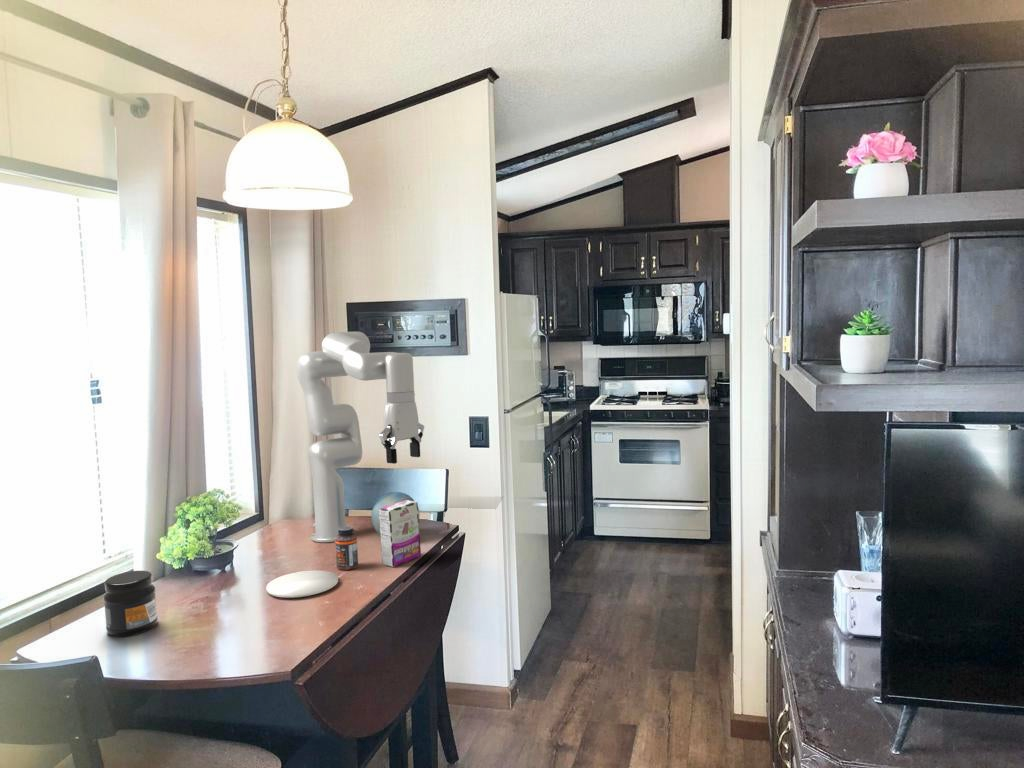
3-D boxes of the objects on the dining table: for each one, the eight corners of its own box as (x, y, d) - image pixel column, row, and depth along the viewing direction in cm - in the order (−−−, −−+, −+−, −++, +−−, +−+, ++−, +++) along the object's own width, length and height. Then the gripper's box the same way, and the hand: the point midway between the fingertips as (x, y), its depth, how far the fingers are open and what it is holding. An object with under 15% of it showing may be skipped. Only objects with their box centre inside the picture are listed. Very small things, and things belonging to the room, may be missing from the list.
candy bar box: (409, 554, 210) (406, 499, 209) (421, 556, 207) (418, 501, 206) (380, 565, 201) (377, 507, 200) (393, 568, 198) (390, 510, 197)
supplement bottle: (332, 569, 199) (329, 529, 198) (346, 562, 204) (344, 524, 203) (348, 572, 196) (346, 531, 195) (362, 565, 201) (360, 526, 201)
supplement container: (164, 627, 163) (160, 576, 162) (113, 642, 156) (109, 589, 155) (150, 615, 171) (146, 566, 170) (100, 629, 164) (96, 578, 163)
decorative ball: (426, 532, 232) (423, 486, 231) (413, 546, 217) (410, 498, 216) (381, 532, 234) (379, 487, 233) (365, 546, 219) (363, 498, 218)
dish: (254, 588, 186) (253, 584, 186) (315, 570, 199) (315, 565, 199) (288, 605, 173) (287, 600, 173) (351, 584, 186) (351, 580, 186)
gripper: (411, 394, 205) (413, 453, 206) (368, 401, 190) (371, 464, 191) (431, 395, 200) (434, 455, 202) (389, 401, 186) (392, 466, 187)
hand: (403, 459), depth 197 cm, fingers open, 9 cm apart
